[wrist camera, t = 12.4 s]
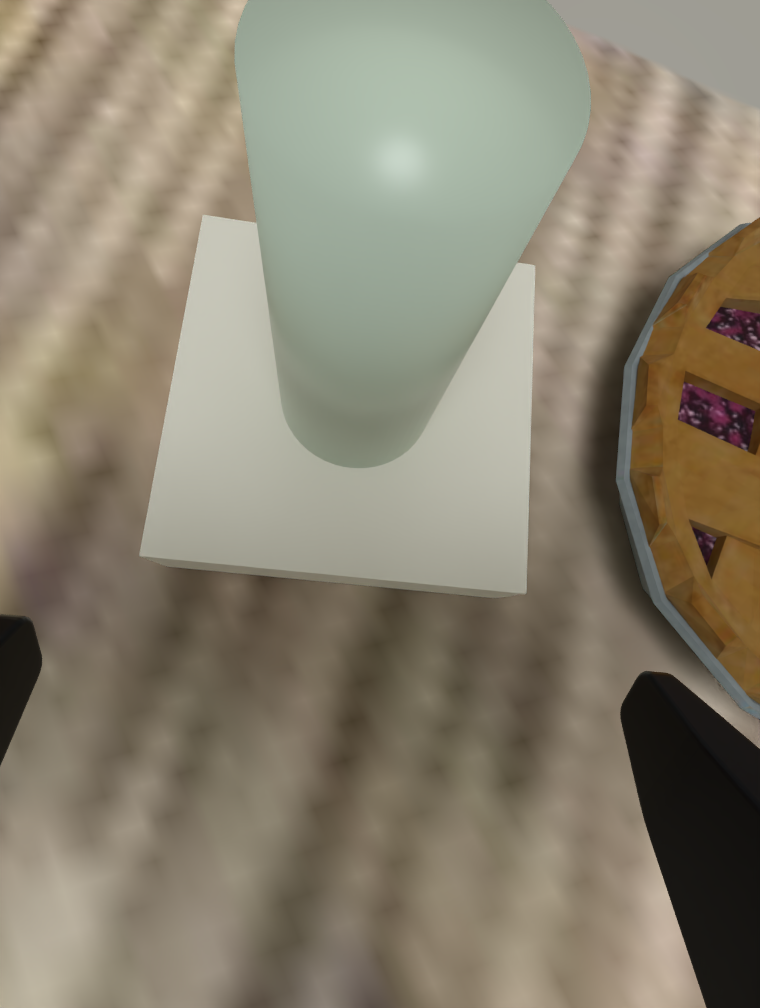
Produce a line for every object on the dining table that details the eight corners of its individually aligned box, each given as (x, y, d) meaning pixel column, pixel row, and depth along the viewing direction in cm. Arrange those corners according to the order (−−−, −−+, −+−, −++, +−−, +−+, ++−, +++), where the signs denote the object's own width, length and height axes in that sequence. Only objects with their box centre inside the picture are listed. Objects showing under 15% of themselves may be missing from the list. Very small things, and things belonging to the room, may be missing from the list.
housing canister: (381, 497, 18) (488, 292, 7) (250, 414, 18) (156, 87, 7) (456, 378, 19) (645, 50, 8) (333, 302, 19) (361, -120, 8)
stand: (496, 598, 20) (526, 594, 17) (166, 566, 19) (138, 556, 16) (507, 310, 23) (535, 265, 20) (218, 269, 22) (203, 214, 19)
